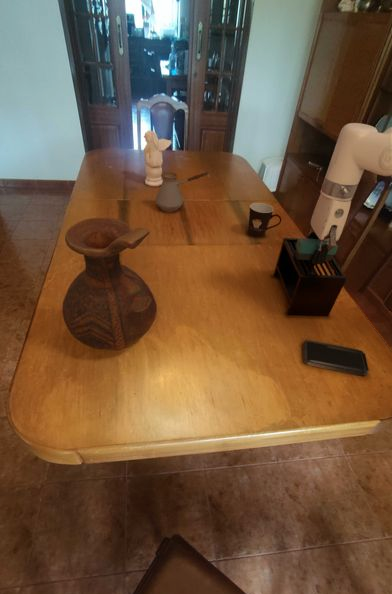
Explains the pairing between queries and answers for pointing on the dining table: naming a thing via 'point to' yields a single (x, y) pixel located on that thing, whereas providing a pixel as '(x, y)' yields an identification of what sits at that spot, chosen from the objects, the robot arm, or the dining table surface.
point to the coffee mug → (260, 219)
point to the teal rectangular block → (311, 249)
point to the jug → (107, 287)
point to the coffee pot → (172, 191)
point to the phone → (335, 358)
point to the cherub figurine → (154, 158)
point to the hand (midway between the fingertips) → (313, 255)
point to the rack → (307, 282)
